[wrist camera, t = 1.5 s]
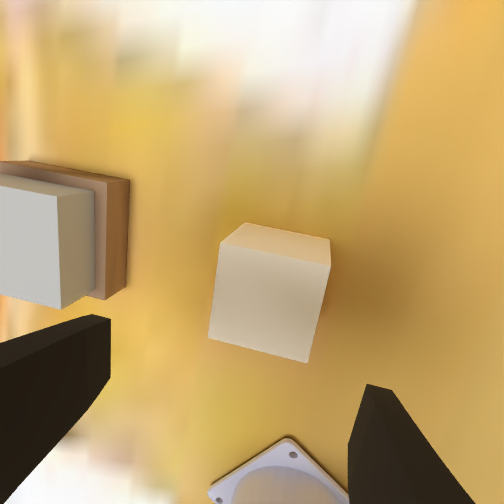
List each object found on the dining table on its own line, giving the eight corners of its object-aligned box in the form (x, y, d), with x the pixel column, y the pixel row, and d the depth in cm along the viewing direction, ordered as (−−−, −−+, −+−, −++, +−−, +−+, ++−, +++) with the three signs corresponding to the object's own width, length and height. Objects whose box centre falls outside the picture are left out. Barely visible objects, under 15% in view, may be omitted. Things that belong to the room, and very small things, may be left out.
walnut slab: (134, 179, 19) (106, 182, 16) (129, 284, 21) (104, 300, 18) (35, 160, 20) (-4, 161, 17) (39, 262, 22) (5, 274, 19)
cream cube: (329, 238, 17) (331, 266, 13) (311, 315, 18) (307, 363, 14) (245, 221, 18) (220, 242, 14) (233, 297, 19) (207, 337, 15)
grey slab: (94, 191, 17) (56, 196, 14) (94, 290, 18) (60, 309, 16) (1, 173, 18) (-49, 176, 15) (9, 269, 19) (-35, 285, 17)
